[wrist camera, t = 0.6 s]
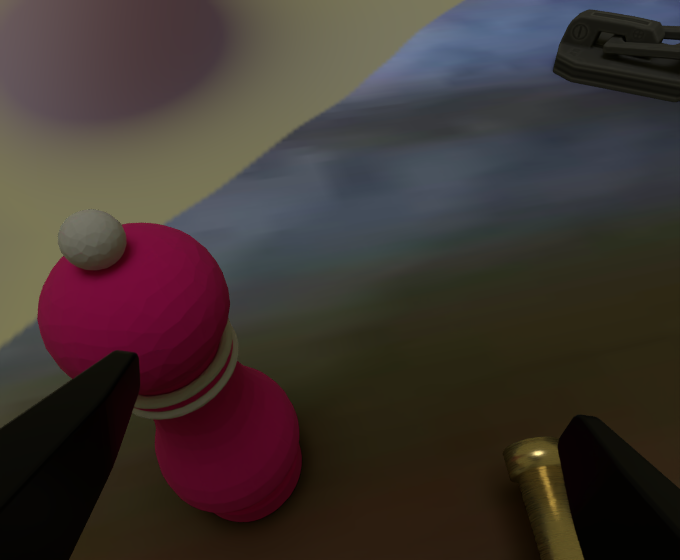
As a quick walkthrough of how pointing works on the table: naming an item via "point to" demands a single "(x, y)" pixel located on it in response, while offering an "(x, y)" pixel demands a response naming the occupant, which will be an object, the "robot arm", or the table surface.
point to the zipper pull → (621, 55)
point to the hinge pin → (544, 496)
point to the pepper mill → (174, 360)
